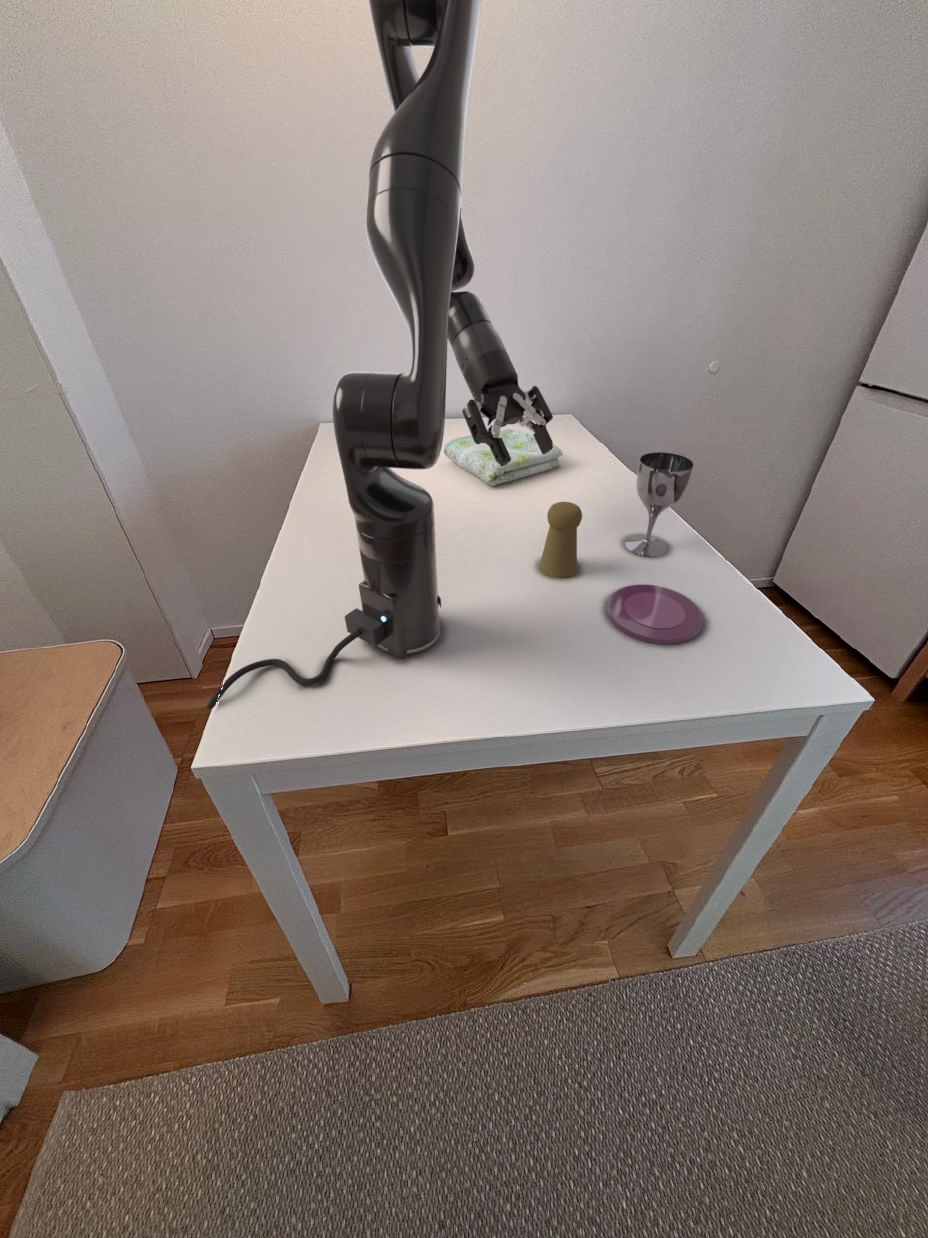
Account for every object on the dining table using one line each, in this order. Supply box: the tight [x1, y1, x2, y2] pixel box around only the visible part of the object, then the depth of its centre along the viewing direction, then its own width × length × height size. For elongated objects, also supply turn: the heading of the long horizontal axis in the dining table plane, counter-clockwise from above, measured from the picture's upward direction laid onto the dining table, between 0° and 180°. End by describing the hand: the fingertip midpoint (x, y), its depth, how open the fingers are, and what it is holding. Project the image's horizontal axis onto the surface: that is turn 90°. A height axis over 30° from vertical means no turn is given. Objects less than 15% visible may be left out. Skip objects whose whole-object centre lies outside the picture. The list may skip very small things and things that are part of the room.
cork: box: [539, 501, 583, 579], centre depth 81 cm, size 6×6×11 cm
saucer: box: [606, 584, 704, 645], centre depth 74 cm, size 13×13×1 cm
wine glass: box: [624, 451, 694, 558], centre depth 85 cm, size 8×8×15 cm
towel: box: [443, 428, 564, 487], centre depth 116 cm, size 18×21×5 cm
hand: (527, 457), depth 80 cm, fingers open, 8 cm apart
